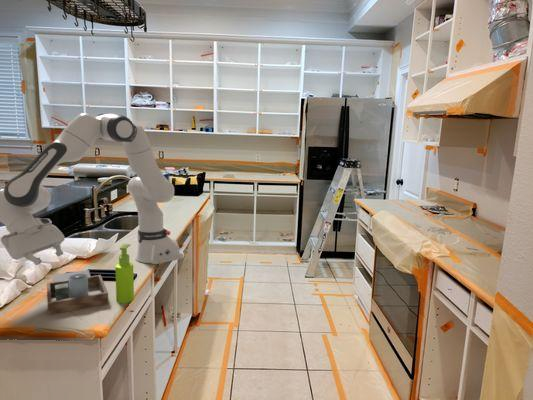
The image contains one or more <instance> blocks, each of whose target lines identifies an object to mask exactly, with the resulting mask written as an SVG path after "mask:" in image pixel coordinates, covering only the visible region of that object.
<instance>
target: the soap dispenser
mask: <svg viewBox="0 0 533 400" xmlns="http://www.w3.org/2000/svg"><path fill="white" fill-rule="evenodd" d="M130 246H131V244H126V243H125V244H122V245H121V246H120V247H119V250H121V254H120V255H118V263H117V264H115V287H116V288H115V295H116V302H117V303H119V304H128V303H131V302H133V301H134V299H135V291H134V290H135V287H134V285H135V284H134V283H135V280H134V263H132V262H130V255H129V254H128V250H127V249H128V248H129V247H130Z"/></svg>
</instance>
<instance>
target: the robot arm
mask: <svg viewBox="0 0 533 400" xmlns="http://www.w3.org/2000/svg"><path fill="white" fill-rule="evenodd" d="M99 139H100V140H104V141H109V142H119V143H121V144H122V145H123V147H124V148H123V149H124V151H125V155H126V157H127V161H128V164H129V167H130V170H131V171H132V172H133V173H134V174H135V175H136V176H134V177H132V178H130V180H128V182H127V191H128V193H129V195H130V196H131V197H132V199H133V201H134V204H135V207H136V211H137V216H138V217H137V218H138V230H137V242H138V244H137V245H138V246H137V251H136V257H135V260H136V261H137V262H140V263H143V264H144V263H145V264H146V263H147V264H153V265H159V264H163V263H168V262H172V261H176V260H182V259H185V252H183V251H182V250H180V245H179V244H178V242H177V241H175V240H174V239H172V238H171V237H170V235H171V231H169V230H167V229H165V228H164V212H163V211H162V209H161V208H160V207H159V205H158V203H161V204H162V203H168V202H170V201H171V200H172V199H173V197H174V196H175V186H174V184H173V183H172V182H171V181H170V180H168V179H167V178H166V177H165V175H164V173H163V172H162V170H161V169H160V167H159V166H158V163H157V162H156V161H157V160H156V158H155V155H154V152H153V149H152V145H151V142H150V140H149V137H148V135H147V133H146V131H145V129H144V127H143V126H142V125H140V124H137V123H135V124H134V122H133V121H132V120H131V119H130V118H129V117H127V116H125V115H124V114H117V113H100V114H98V115H92V114H91V113H90V114H89V113H79V114H78V115H77V116H76V117H73V119H72V120H71V121H70V122H69V123H68V124H67V125H66V126H65V128H64V129H63V130H62V131H61V132H60V134H59V135H58V136H57V137H56V138H55V139H54V141H53V142H51V143H50V144H48V145H47V146H45V148H44V149H43V150H42V151H41V152H40V153H39V154H38V155H37V156H36V157H35V158H34V160H32V161H31V163H30V164H29V165H28V166H27V167H26V168H25V169H24V170H22V172H20V173H19V174H18V175H15V176H14V177H12V178H11V179H10V180H9V181H7V182H6V184H5V186H4V188H3V189H0V222H1V224H3V225H4V226H5V228H6V230H7V232H8V233H9V234H5V235H3V236H2V237H1V238H0V242H1V243H2V244H3V246H4V248H5V250H6V251H7V254H8V255H9V256H10V257H11V258H12V259H13V260H16V261H18V260H20V259H23V258H25V259H26V260H27V261H30V262H32V263H33V264H34V265H35V266H37V265H38V266H39V265H41V264H42V262H43V260H42V259H41V257H36V256H35V254H37V253H39V252H42V251H45V250H49V249H51V248H52V249H54V250H55V251H56V252H54V255H56V256H57V257H60V256H63V254H64V252H63V250H62V248H61V244H62V243H63V242H64V241H65V235H64V234H63V232H62V231H61V230H60V229H59V228H58V227H57V226H56V225H54V224H52V223H53V222H52V220H51V219H50V218H40V217H34V216H33V215H35V214H37V213H39V212H41V211H43V210H45V209H46V208H48V207H49V205H50V204H51V202H52V194H51V192H50V190H49V189H48V188H46V187H44V186H43V185H42V182H43V181H44V180H45V179H46V178H47V177H48V175H49V174H50V173H51V172H52V171H53V170H54V169H55V168H56V167H58V165H59V164H61V163H62V164H63V163H67V162H68V163H70V162H71V163H73V162H78V161H80V160H81V159H82V158H84V157H85V156H86V155H87V153H88V152H89V151H90V149H91V148H92V147H93V145H94V143H96V141H98V140H99Z"/></svg>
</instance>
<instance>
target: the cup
mask: <svg viewBox="0 0 533 400" xmlns="http://www.w3.org/2000/svg"><path fill="white" fill-rule="evenodd" d="M68 280H69V298H75V297H80V296H86V295H90V294H89V288H88V275H87V274H85V273H77V274H73V275H70V276H69V277H68ZM69 298H68V299H69Z"/></svg>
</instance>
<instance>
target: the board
mask: <svg viewBox="0 0 533 400" xmlns="http://www.w3.org/2000/svg"><path fill="white" fill-rule="evenodd" d="M77 273H85V274H87V275H88V277H90V276H91V273H90V271H89V269H86V270H78V271H72V272H65V273H58V274H52V282H56V281H63V280H68V277H69V276H70V275H73V274H77Z"/></svg>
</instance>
